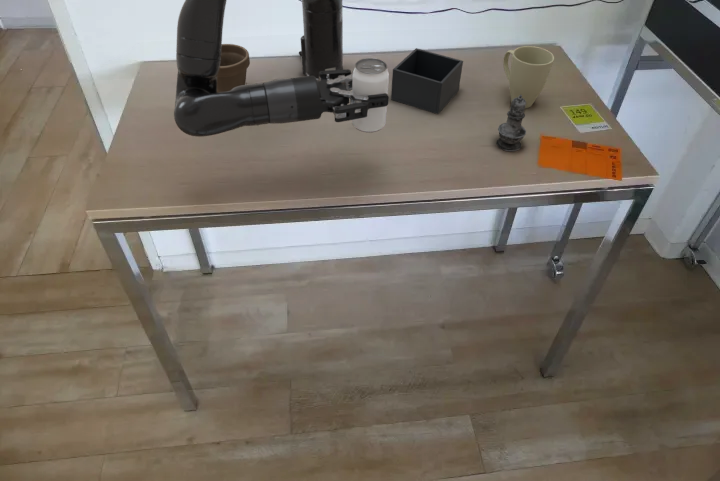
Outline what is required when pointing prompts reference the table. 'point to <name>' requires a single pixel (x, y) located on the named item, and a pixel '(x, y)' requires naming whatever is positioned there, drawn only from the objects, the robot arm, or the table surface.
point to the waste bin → (426, 80)
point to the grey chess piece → (513, 127)
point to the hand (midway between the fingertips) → (382, 89)
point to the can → (370, 91)
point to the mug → (527, 72)
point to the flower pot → (232, 67)
